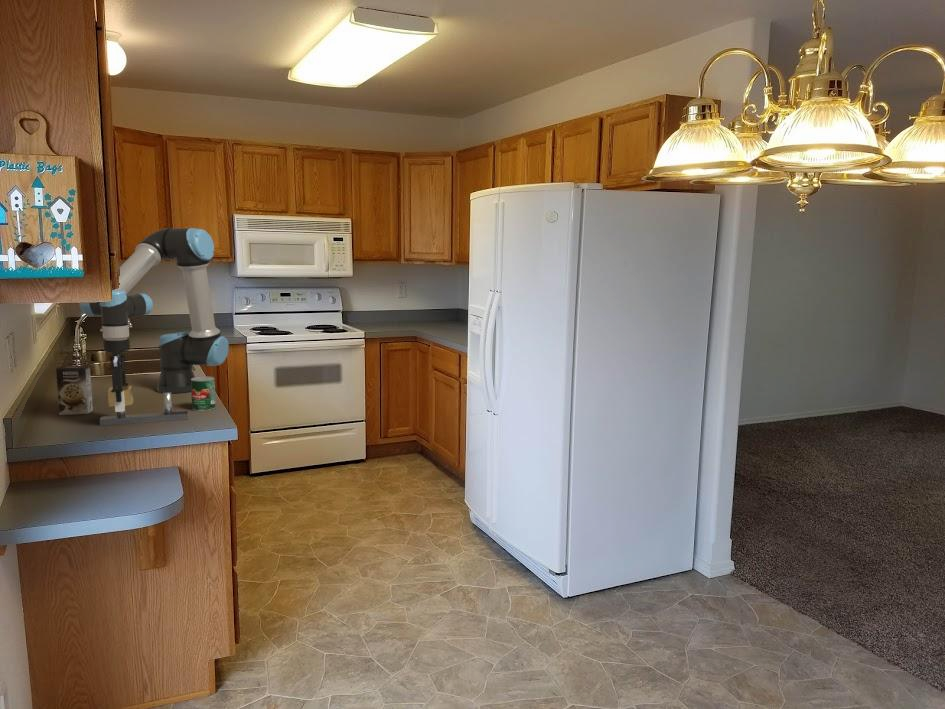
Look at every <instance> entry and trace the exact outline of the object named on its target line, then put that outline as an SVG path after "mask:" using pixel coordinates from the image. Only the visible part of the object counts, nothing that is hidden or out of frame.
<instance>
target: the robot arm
mask: <svg viewBox="0 0 945 709" xmlns="http://www.w3.org/2000/svg"><path fill="white" fill-rule="evenodd" d="M214 252H215V244H214V241H213V239H212V237H211V235H210V233H208V232H207V231H206V230H204V229H203V228H195V227H185V228H184V227H182V228H180V227H175V228H172V227H165V228H161V229H159V230H156V231H154V232H152V233H151V234H149V235H147V236H146V237H144V238H143V239H142V240H141V241H140V242H139V243H138V244H137V245H135V249H134V252H132V254H131V255H130V256H129V257H128V258H127V259H126V260H125V261H124V262H123V264H121V265H120V267H119V268H120V276H119V283H120V285H119V288H118V289H115V290H112V300H111V302H97V303H79V302H78V303H79V304H78V306H79V308H80V310H81V312H82V313H83V314H85V315H87V316H93V317H101V328H100V330H99V331H100V332H101V333H102V338H103V341H102V346H103V347H102V348H103V351H104V352H106V353H112V354H111V357H109V361H110V366H111V367H110V368H111V379H112V387H113V390H111V392H114V400H115V406H114V411H115V413H117V412H121V411H125V412H126V407H128V405H125V403H124V391H123V386H129V382H127V377H126V376H127V374H126V363H125V362H126V356H125V354H124V352H128V351H130V350H131V342H130V339H129V337H130V327H129V319H130V318H131V319H132V318H138V317H144V316H147V315H149V314H150V313H152V310H153V307H154V303H153V302H154V301H153V299H152V298H151V297H150V296H149V295H148V294H145V293H131V294H130V293H129V292H130V291H131V290H132V289H133V288H134V287H135V286H136V285H137V284H138V283H139V282H140V280H141V279H142V278H143V277H144V276H145V275H146V274H147V273H148V271H150V270H151V268H152V267H155V266H158V265H159V264H160V263H161V262H162V261H165V260H175V261H176V267H178V268H179V269H180V270H181V271H182V278H183V284H184V288H185V289H184V290H185V295H186V300H187V306H188V307H187V308H188V312H189V319H190V320H189V321H190V325H191V330H190V331H181V332H174V333H173V332H171V333H166V334H165V333H164V334H162V335H161V336H160V337H159V339H158V340H159V342H158V344H159V345H158V348H159V363H160V373H159V376H158V381H157V384H156V391H157V392H158V393H162V394H163V393H166V392H171V394H179V393H180V394H182V393H189V392H192V390H191V379H192V378H195V377H196V376H195V373H194V370H193V366H207V367H213V366H216V367H217V366H218V367H219V366H220V365H222V364H224V362H225V361H226V359H227V357H228V355H229V346H230V345H229V340H228V339H227V338H226V337H225V336H222V335H221V334H222V333H221V330H220V329H219V328H218V327H217V326H216V323H215V316H214V311H213V310H214V309H213V304H212V298H211V297H212V296H211V290H210V285H209V284H210V283H209V277H208V272H207V271H208V270H207V267H208V266H209V265H210V260H211V259H213V257H214V254H215V253H214ZM128 293H129V294H128Z"/></svg>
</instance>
